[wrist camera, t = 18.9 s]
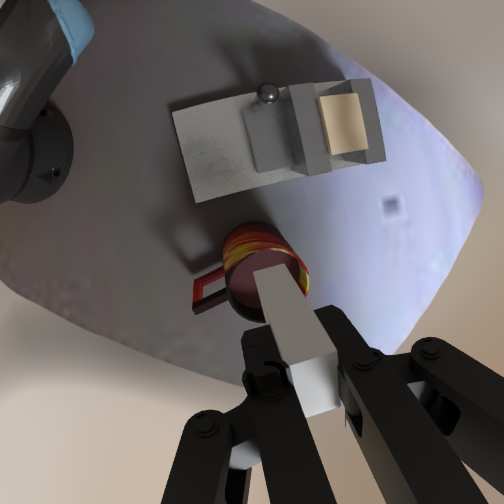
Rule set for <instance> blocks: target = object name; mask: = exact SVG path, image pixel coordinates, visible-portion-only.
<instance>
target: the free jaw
mask: <svg viewBox="0 0 504 504" xmlns="http://www.w3.org/2000/svg"><path fill="white" fill-rule="evenodd" d="M256 94H257V96H256V97H255V102H256V105H251V106H246V107H243V108H242V109H241V110H242V114H243V118H244V122H245V126H246V130H247V134H248V139H249V143H250V147H251V151H252V155H253V159H254V164H255V168H256V172H257V173H259V174H260V173H264V172H268V171H273V170H277V169H281V168H286V167H290V166H292V169H293V172H297V173H300V174H303V175H306V176H313V175H318V174H322V173H327V172H332V167H331V162H330V157H329V151H328V146H327V141H326V137H325V132H324V127H323V123H322V118H321V114H320V109H319V105H318V101H317V97H316V93H315V89H314V85H313V82H312V83H304V84H296V85H289V86H287V87H286V88H285V89H283V90H282V91H281V92H280V91H279V89H278V87H277V86H276V85H275V84H273V83H269V82H267V83H263V84H261V85H260V86H259V87H258V89H257V92H256Z"/></svg>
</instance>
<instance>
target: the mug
mask: <svg viewBox="0 0 504 504" xmlns="http://www.w3.org/2000/svg"><path fill="white" fill-rule="evenodd" d="M222 257H223V266H221V267H219V268H217V269H215V270H213V271H211V272H209V273H207V274H205V275H203V276H201V277H199V278H197V279H195V280H194V286H193V292H194V293H193V304H192V310H193V312H194V313H195V315H197V314H200V313H202V312H204V311H206V310H208V309H210V308H213V307H215V306H217V305H219V304H221V303H223V302H225V301H227V300H229V302H230V304H231V306H232V308H233V309H234V310H235V311H236V312H237V313H238V314H239V315H240V316H242V317H243V318H245V319H247V320H249V321H253V322H257V323H266V320H265V316H264V312H263V309H262V305H261V301H260V297H259V293H258V289H257V285H256V281H255V278H254V274H253V272H254V271H258V270H262V269H265V268H269V267H273V266H276V265H280V264H283V263H284V264H285V266H286V267H287V269H288V270H289V272H290V274H291V275H292V277H293V279H294V280H295V282H296V283H297V285H298V287H299V288H300V290H301V292H302V293H303V295H304V296H305V298H306V296H307V293H308V290H309V274H308V271H307V268H306V266H305V265H304V263H303V262H302V260H301V259H300V258H299V257H298V255H297V254H296V253H295V251H294V250H293V249H292V248H291V246H290V245H289V244H288V243H287V241H286V240H285V239H284V237H283V236H282V235H281V234H280V232H279V231H278V230H277V229H276V228H274V227H273V226H271V225H270V224H267V223H265V222H260V221H250V222H246V223H243V224H241V225H239V226H237V227H236V228H234V229H233V230H232V231H231V232H230V233H229V234H228V236H227V237H226V239H225V242H224V244H223V249H222ZM223 276H225V282H226V288H224V289H221V290H219V291H217V292H215V293H213V294H211V295H209V296H207V297H205V298H203V286H205V285H207V284H209V283H211V282H213V281H215V280H217V279H219V278H221V277H223Z"/></svg>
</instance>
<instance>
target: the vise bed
mask: <svg viewBox="0 0 504 504" xmlns="http://www.w3.org/2000/svg"><path fill="white" fill-rule="evenodd" d="M313 85H314V89H315V93H316V97H317V98H318V97H321V96H330V95H340V94H351V93H357V94H358V98H359V103H360V107H361V112H362V116H363V121H364V126H365V132H366V137H367V143H368V148H369V149H364V150H358V151H352V152H346V153H341V154H335V155H329V157H330V162H331V167H332V170H335V169H340V168H345V167H350V166H355V165H360V164H372V163H378V162H383V161H386V155H385V148H384V142H383V136H382V131H381V125H380V120H379V115H378V110H377V105H376V101H375V96H374V92H373V88H372V84H371V80H370V78H367V79H350V80H345V81H332V82H322V83H313ZM285 88H286V87H282V88H278V89H279V91H280V92H281V91H282V90H283V89H285ZM256 96H257V94H256V92H253V93H248V94H243V95H238V96H234V97H229V98H225V99H220V100H216V101H212V102H208V103H204V104H200V105H197V106H193V107H189V108H186V109H182V110H179V111H175V112H172V115H173V119H174V123H175V127H176V131H177V135H178V139H179V143H180V147H181V150H182V154H183V158H184V162H185V165H186V169H187V173H188V176H189V180H190V184H191V187H192V191H193V194H194V198H195V202H196V203H199V202H202V201H206V200H210V199H213V198H217V197H221V196H224V195H228V194H232V193H236V192H240V191H244V190H247V189H251V188H255V187H259V186H263V185H268V184H272V183H276V182H280V181H284V180H289V179H293V178H298V177H302V176H306V175H303V174H300V173H297V172H293V169H292V166H290V167H286V168H281V169H277V170H273V171H268V172H264V173H260V174H259V173H257V172H256V168H255V164H254V159H253V155H252V151H251V147H250V143H249V139H248V134H247V130H246V126H245V122H244V118H243V114H242V110H241V109H242V108H243V107H246V106H251V105H256V102H255V97H256Z"/></svg>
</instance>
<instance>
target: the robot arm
mask: <svg viewBox="0 0 504 504" xmlns="http://www.w3.org/2000/svg"><path fill="white" fill-rule="evenodd" d="M93 34H94V23H93V20H92V18H91V16H90V14H89V13H88V11H87V10H86V9H85V7H84V6H83V5H82V4H81V2H80V1H79V0H0V204H1V203H4V202H6V201H9V200H10V201H15V202H19V203H25V204H31V203H36V202H39V201H42V200H44V199H47V198H48V197H50V196H52V195H53V194H54V193H55V192H56V191H57V190H58V189H59V188H60V187H61V186H62V184H63V183H64V181H65V179H66V177H67V175H68V173H69V170H70V167H71V164H72V159H73V138H72V133H71V130H70V127H69V125H68V123H67V121H66V119H65V118H64V117H63V116H62V115H61V114H60V113H59V112H58V111H56V110H55V109H52V108H49V107H44V105H45V103H46V102H47V100H48V99H49V97H50V96H51V94H52V93H53V91H54V90H55V88H56V87H57V85H58V84H59V82H60V81H61V79H62V78H63V77H64V75H65V74H66V73H67V71H68V70H69V68H70V67H71V66H72V67H73V66H74V64H75V63H76V61H77V58H78V56H79V55H80V54H81V52H82V51H83V50H84V48H85V47H86V46H87V44H88V43H89V42H90V40H91V39H92V37H93ZM253 274H254V278H255V281H256V285H257V289H258V293H259V297H260V301H261V305H262V309H263V312H264V316H265V320H266V323H267V325H265V326H261V327H258V328H254V329H250V330H246V331H244V334H243V336H242V339H241V344H242V350H243V356H244V361H245V367H246V369H245V371H244V373H243V376H242V382H243V384H244V387H245V389H246V392H247V394H248V396H247V397H246V399H245V400H244V401H243V402H242V403H241V404H240V405H239V406H237V407H236V408H234V409H232V410H230V411H228V412H226V413H224V414H223V413H221V412H220V411H217V410H205V411H201V412H199V413H196V414H194V416H192V417H191V418H190V419H189V420H188V421H187V423H186V425H185V426H184V430H183V433H182V436H181V440H180V442H179V446H178V449H177V452H176V455H175V458H174V462H173V465H172V468H171V471H170V475H169V478H168V481H167V484H166V488H165V491H164V494H163V498H162V501H161V504H247V502H248V494H249V487H250V479H251V471H252V466H254V465H256V464H258V463H260V462H261V461H262V466H263V471H264V476H265V480H266V485H267V490H268V494H269V498H270V503H271V504H337V502H336V500H335V497H334V494H333V491H332V489H331V486H330V483H329V481H328V478H327V475H326V472H325V470H324V467H323V464H322V461H321V459H320V456H319V453H318V451H317V448H316V445H315V443H314V440H313V437H312V434H311V431H310V429H309V426H308V423H307V420H306V418H307V417H310V416H314V415H317V414H320V413H323V412H326V411H329V410H331V409H334V408H337V407H340V406H341V403H340V398H341V400H342V402H343V404H344V406H345V426H346V430H347V429H349V425H350V427H351V429H352V431H353V434H354V436H355V438H356V440H357V442H358V444H359V446H360V448H361V450H362V453H363V455H364V457H365V459H366V461H367V463H368V465H369V467H370V469H371V472H372V474H373V476H374V478H375V480H376V482H377V484H378V486H379V489H380V491H381V493H382V495H383V497H384V499H385V501H386V504H488V502H487V500H486V499H485V497H484V496H483V494H482V493H481V491H480V489H479V488H478V486H477V485H476V483H475V482H474V480H473V478H472V477H471V475H470V474H469V472H468V471H467V469H466V468H465V466H464V465H463V463H462V462H461V460H462V461H463V462H464V463H465V464H467V466H469V467H470V468H471V469H472V470H473V471H475V472H476V473H477V474H478V475H479V476H481V477H482V478H483V479H484V480H486V481H487V482H488V483H489V484H490V485H491V486H493V487H494V488H495V489H496V490H498V491H499V492H500V493H501V494H503V495H504V377H502V376H500V375H499V374H497V373H496V372H494V371H493V370H491V369H489V368H488V367H486V366H484V365H483V364H481V363H480V362H478V361H477V360H475V359H473V358H472V357H470V356H469V355H467V354H465V353H464V352H462V351H460V350H459V349H457V348H456V347H454V346H452V345H451V344H449V343H447V342H446V341H444V340H442V339H439V338H436V337H426V338H422V339H420V340H418V341H416V342H415V344H414V345H413V346H412V349H411V352H409V353H404V354H397V355H385V354H383V353H382V352H381V351H380V350H378V349H375V348H370V347H369V346H368V344H367V343H366V342H365V340H364V339H363V338H362V336H361V335H360V334H359V332H358V331H357V330H356V328H355V327H354V326H353V325H352V323H351V322H350V320H349V319H347V316H346V315H345V314H344V312H343V311H342V310H341V309H339V308H337V307H335V306H333V305H329V306H326V307H323V308H319V309H316V310H313V309H312V308H311V306H310V305H309V303H308V301H307V300H306V298H305V296H304V295H303V293H302V292H301V290H300V288H299V287H298V285H297V283H296V282H295V280H294V279H293V277H292V275H291V274H290V272H289V270H288V269H287V267H286V266H285V264H284V263H283V264H280V265H276V266H273V267H269V268H265V269H262V270H258V271H254V272H253Z"/></svg>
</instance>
